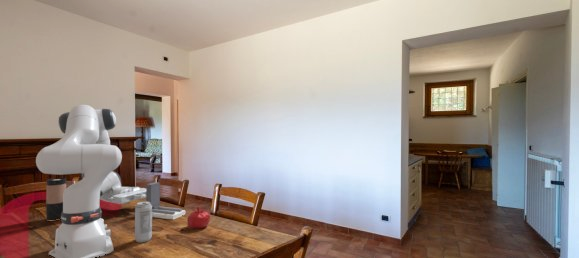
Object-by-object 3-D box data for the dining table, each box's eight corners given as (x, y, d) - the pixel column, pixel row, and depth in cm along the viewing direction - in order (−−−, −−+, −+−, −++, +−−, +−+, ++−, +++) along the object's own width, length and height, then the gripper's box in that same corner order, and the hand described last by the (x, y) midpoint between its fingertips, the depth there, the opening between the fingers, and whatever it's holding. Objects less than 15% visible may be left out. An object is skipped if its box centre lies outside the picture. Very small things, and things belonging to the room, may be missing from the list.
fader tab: (161, 208, 146) (161, 182, 146) (152, 211, 141) (152, 184, 141) (153, 207, 148) (153, 182, 148) (144, 210, 142) (144, 184, 142)
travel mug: (57, 221, 131) (57, 180, 131) (41, 221, 131) (41, 180, 131) (70, 216, 139) (70, 177, 139) (55, 216, 139) (55, 177, 139)
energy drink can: (147, 236, 114) (148, 200, 114) (154, 239, 110) (154, 202, 110) (132, 240, 109) (132, 203, 109) (138, 244, 105) (138, 205, 105)
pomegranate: (203, 231, 119) (203, 210, 119) (182, 229, 121) (182, 209, 121) (213, 223, 129) (214, 204, 129) (194, 222, 131) (194, 202, 131)
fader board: (185, 214, 143) (185, 208, 143) (173, 219, 135) (173, 213, 135) (153, 210, 150) (153, 204, 150) (140, 215, 141) (140, 209, 141)
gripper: (106, 193, 140) (126, 195, 136) (139, 185, 160) (158, 187, 156) (106, 205, 140) (126, 207, 136) (139, 196, 160) (157, 198, 156)
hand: (143, 196), depth 146 cm, fingers closed
